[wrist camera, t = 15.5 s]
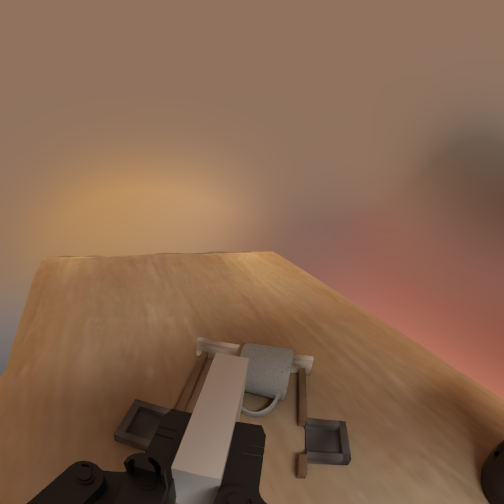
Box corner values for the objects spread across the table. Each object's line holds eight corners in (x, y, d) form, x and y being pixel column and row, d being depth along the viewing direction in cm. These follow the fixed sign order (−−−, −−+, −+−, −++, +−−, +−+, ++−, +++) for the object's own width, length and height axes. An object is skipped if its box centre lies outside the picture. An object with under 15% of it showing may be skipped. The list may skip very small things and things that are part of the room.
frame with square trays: (334, 373, 50) (339, 359, 49) (349, 483, 28) (358, 470, 27) (173, 345, 52) (173, 331, 51) (115, 440, 30) (111, 425, 29)
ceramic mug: (239, 368, 49) (244, 329, 46) (289, 379, 48) (298, 340, 45) (220, 412, 39) (225, 371, 36) (280, 425, 38) (291, 385, 35)
